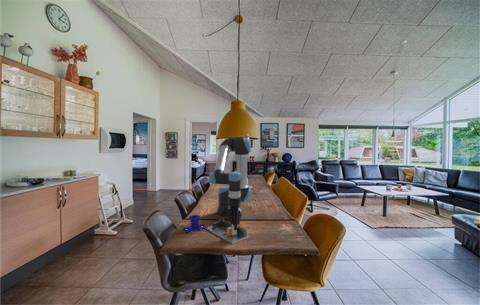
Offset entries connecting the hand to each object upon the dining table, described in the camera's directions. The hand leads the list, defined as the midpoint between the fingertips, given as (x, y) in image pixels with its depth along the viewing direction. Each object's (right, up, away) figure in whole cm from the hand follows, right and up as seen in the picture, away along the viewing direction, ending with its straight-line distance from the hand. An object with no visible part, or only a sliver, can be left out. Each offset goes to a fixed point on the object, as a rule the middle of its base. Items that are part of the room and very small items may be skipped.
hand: (234, 234), depth 132 cm
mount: (-28, -2, +14) cm, 31 cm away
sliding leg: (0, -1, +3) cm, 3 cm away
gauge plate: (-5, -2, +7) cm, 9 cm away
